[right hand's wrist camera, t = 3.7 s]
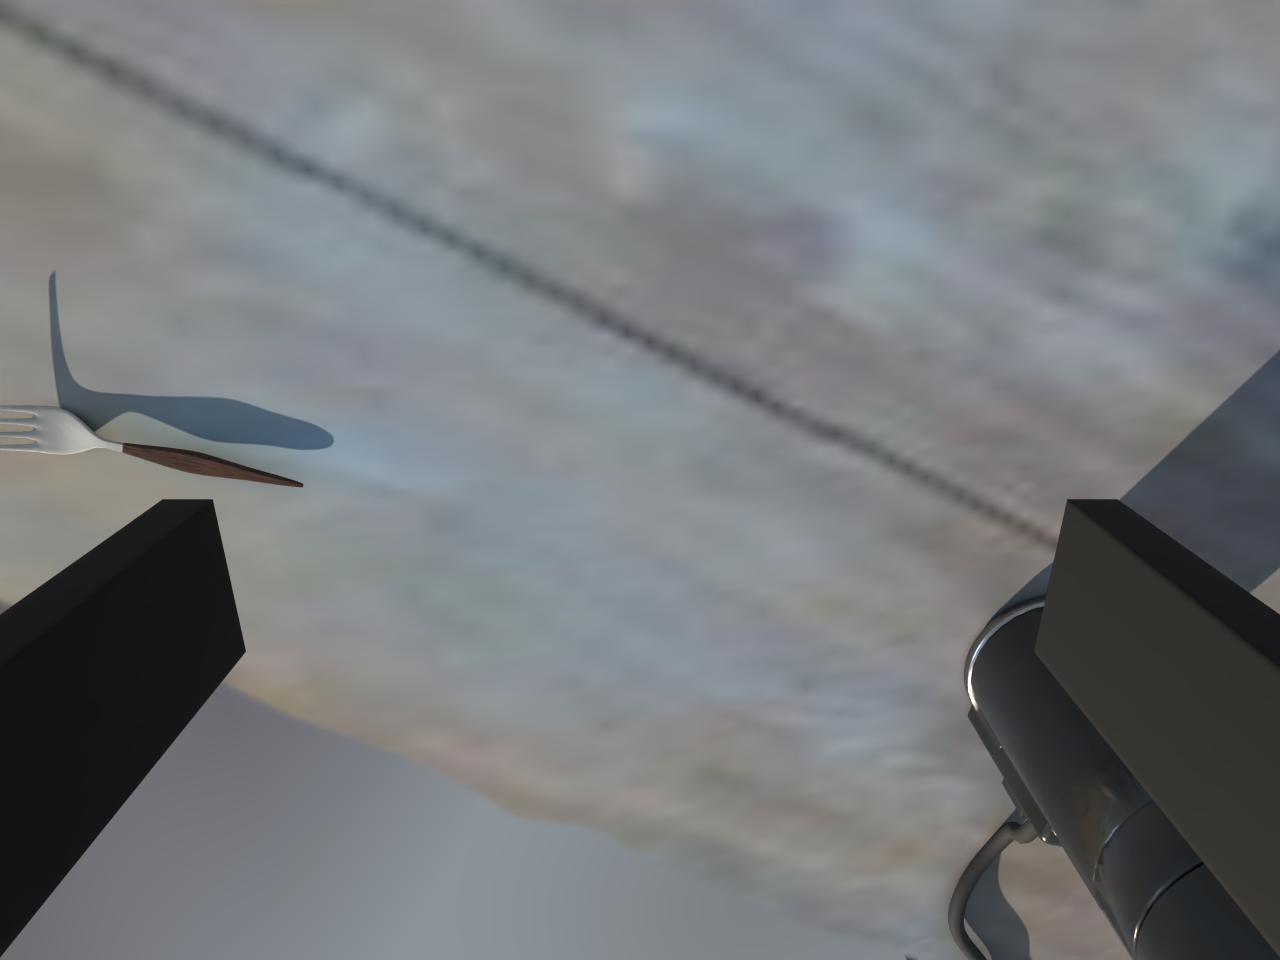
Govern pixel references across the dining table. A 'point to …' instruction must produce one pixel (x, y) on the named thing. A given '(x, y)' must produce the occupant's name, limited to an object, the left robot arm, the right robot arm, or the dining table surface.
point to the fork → (119, 446)
